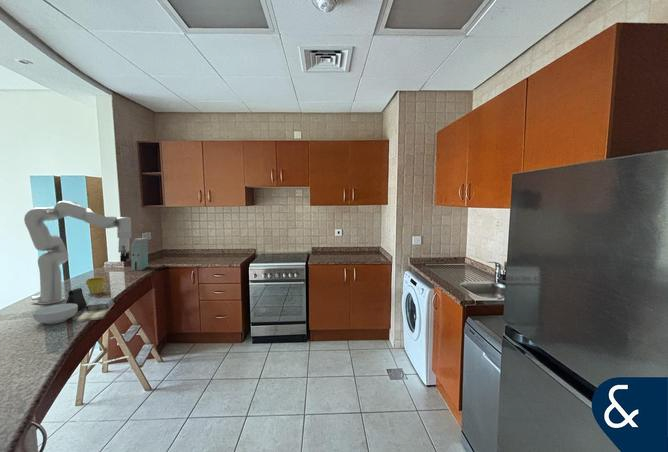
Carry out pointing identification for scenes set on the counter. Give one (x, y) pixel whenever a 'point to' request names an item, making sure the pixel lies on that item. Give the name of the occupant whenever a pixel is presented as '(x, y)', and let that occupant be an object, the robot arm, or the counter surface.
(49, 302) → the robot arm
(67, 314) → the cereal bowl
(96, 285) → the plant pot
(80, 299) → the door stopper
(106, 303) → the housing
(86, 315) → the board
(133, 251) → the device
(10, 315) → the counter surface
